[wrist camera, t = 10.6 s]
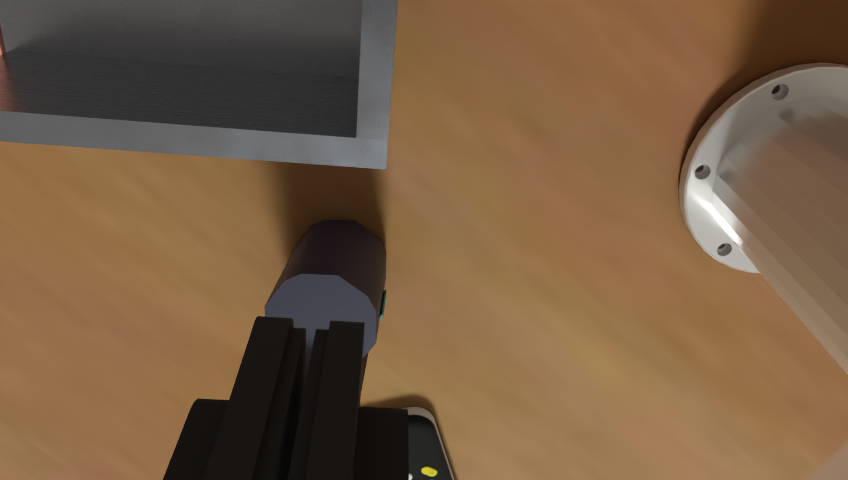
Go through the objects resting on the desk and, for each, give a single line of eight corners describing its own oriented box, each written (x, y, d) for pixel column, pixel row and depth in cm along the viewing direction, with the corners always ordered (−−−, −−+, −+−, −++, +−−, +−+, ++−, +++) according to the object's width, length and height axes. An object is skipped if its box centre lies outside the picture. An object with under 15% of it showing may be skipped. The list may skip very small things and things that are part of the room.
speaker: (387, 324, 43) (373, 431, 34) (297, 318, 43) (257, 423, 34) (393, 214, 40) (379, 296, 31) (296, 207, 40) (252, 287, 31)
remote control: (429, 398, 47) (430, 418, 46) (467, 516, 53) (470, 538, 52) (344, 415, 48) (341, 436, 46) (391, 530, 54) (391, 553, 52)
